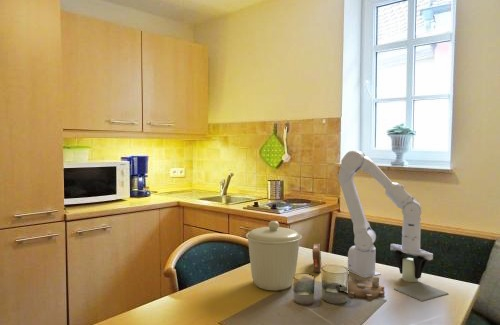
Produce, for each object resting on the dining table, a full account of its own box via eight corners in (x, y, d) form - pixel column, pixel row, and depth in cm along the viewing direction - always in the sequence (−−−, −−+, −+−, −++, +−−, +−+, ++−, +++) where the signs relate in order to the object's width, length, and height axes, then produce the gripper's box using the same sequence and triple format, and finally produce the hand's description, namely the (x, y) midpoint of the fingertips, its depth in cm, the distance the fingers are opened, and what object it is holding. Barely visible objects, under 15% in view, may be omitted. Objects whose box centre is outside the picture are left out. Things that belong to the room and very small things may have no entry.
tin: (320, 275, 131) (321, 252, 130) (311, 275, 131) (312, 251, 131) (321, 262, 145) (321, 241, 145) (313, 262, 146) (313, 240, 146)
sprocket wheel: (346, 300, 109) (347, 286, 109) (333, 282, 123) (333, 270, 123) (393, 299, 110) (393, 285, 110) (374, 281, 124) (374, 269, 124)
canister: (236, 290, 117) (237, 224, 116) (257, 272, 133) (257, 214, 132) (292, 300, 110) (293, 229, 109) (306, 279, 127) (307, 218, 126)
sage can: (398, 279, 128) (399, 258, 127) (408, 276, 130) (409, 257, 130) (411, 283, 123) (411, 263, 123) (421, 281, 126) (421, 261, 125)
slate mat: (394, 290, 118) (394, 288, 118) (420, 284, 123) (420, 282, 123) (421, 302, 109) (421, 300, 109) (448, 295, 114) (448, 293, 114)
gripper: (385, 233, 130) (384, 271, 130) (424, 242, 118) (423, 284, 118) (397, 230, 134) (396, 267, 134) (437, 239, 122) (435, 280, 122)
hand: (410, 275), depth 127 cm, fingers open, 5 cm apart
